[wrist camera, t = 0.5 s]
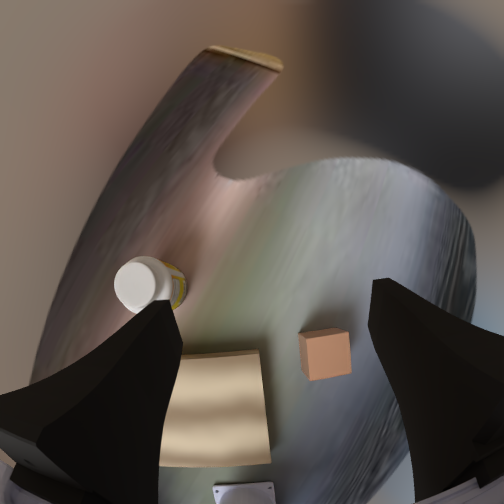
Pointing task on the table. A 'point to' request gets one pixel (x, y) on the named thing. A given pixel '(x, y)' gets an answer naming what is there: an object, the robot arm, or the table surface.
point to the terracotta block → (325, 353)
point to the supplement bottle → (149, 283)
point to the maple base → (216, 412)
